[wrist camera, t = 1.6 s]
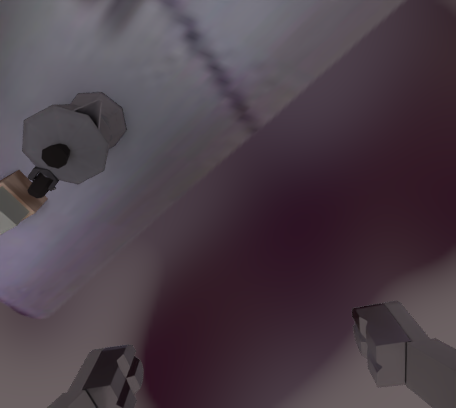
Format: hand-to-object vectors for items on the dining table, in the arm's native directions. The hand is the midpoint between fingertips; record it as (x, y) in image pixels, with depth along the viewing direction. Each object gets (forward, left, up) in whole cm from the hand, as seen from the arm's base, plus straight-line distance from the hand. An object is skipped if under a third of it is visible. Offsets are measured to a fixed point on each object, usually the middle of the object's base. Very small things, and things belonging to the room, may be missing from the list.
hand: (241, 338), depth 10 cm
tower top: (-3, -30, -35) cm, 46 cm away
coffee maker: (-6, -13, -40) cm, 43 cm away
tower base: (-3, -30, -40) cm, 50 cm away
